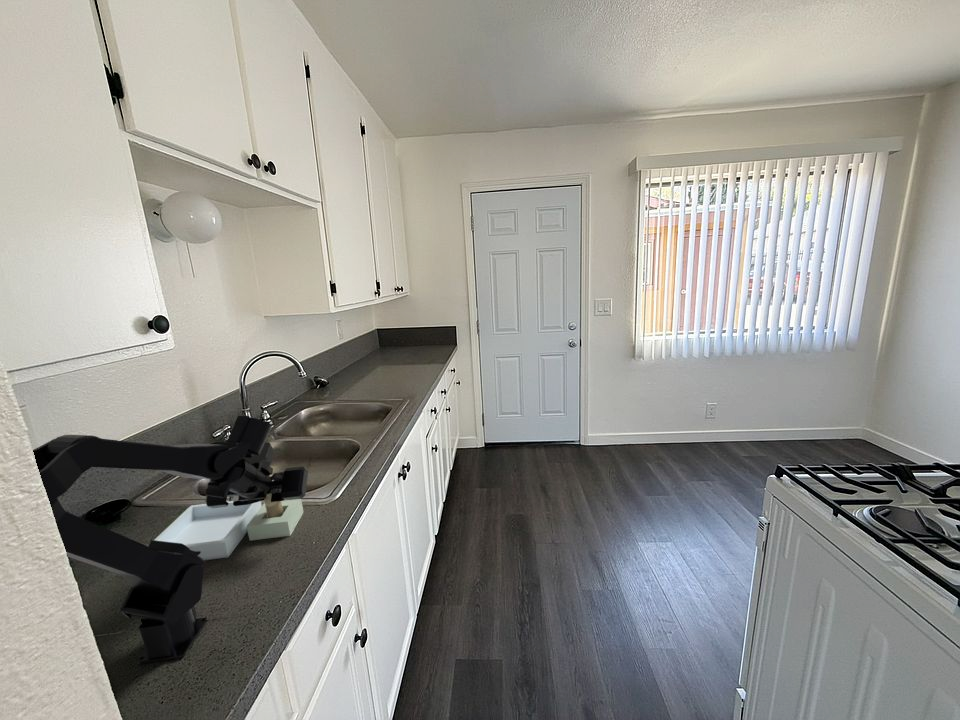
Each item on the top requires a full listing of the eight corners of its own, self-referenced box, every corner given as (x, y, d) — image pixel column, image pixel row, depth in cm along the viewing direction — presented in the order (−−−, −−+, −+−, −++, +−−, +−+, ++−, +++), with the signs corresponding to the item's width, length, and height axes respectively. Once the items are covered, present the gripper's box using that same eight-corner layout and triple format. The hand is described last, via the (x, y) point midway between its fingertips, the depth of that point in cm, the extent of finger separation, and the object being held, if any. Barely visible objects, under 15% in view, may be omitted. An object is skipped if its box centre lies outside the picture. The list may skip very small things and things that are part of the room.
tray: (228, 557, 77) (224, 542, 76) (145, 567, 76) (141, 552, 75) (262, 510, 92) (260, 497, 91) (194, 518, 91) (190, 505, 90)
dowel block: (290, 535, 82) (287, 521, 82) (249, 540, 82) (246, 526, 81) (303, 512, 91) (301, 499, 90) (266, 516, 90) (263, 503, 89)
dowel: (282, 529, 85) (272, 480, 82) (267, 531, 84) (257, 482, 82) (288, 520, 88) (278, 473, 85) (273, 522, 88) (263, 474, 85)
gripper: (297, 432, 78) (321, 456, 91) (200, 442, 76) (239, 465, 89) (289, 488, 72) (316, 505, 85) (184, 499, 70) (228, 515, 83)
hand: (275, 496), depth 86 cm, fingers closed on dowel, 3 cm apart
